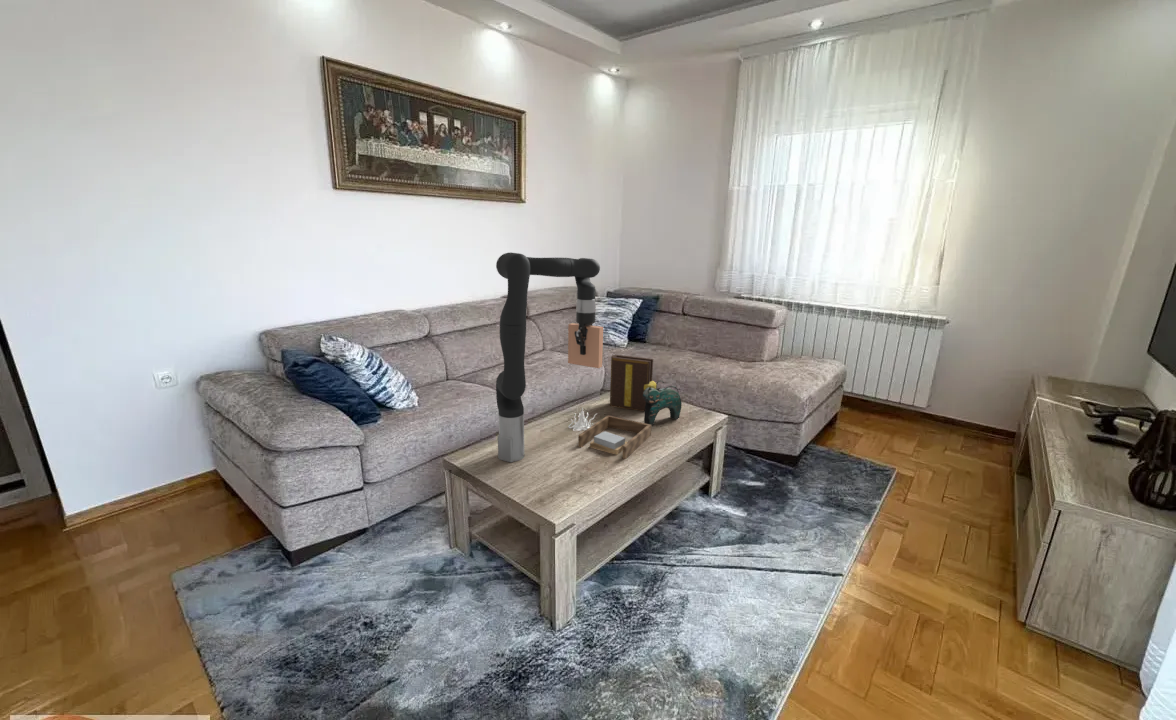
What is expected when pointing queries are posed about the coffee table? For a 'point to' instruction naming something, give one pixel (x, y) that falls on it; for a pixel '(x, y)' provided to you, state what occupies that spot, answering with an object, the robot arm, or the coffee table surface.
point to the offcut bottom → (606, 448)
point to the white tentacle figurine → (581, 422)
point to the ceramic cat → (661, 403)
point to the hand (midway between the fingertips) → (585, 353)
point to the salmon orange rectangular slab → (592, 346)
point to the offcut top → (609, 440)
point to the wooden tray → (621, 424)
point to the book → (630, 381)
